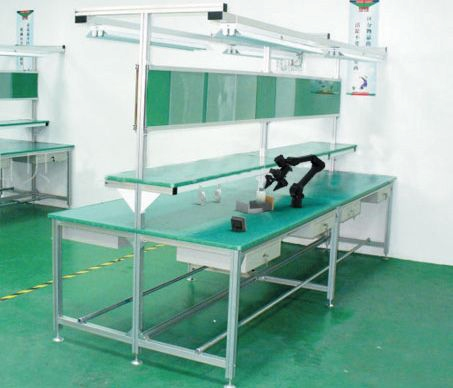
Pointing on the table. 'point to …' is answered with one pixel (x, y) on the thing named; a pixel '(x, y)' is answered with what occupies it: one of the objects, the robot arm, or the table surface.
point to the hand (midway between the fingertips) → (268, 189)
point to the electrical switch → (238, 223)
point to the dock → (246, 208)
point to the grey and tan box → (263, 204)
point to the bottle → (260, 195)
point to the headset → (203, 197)
